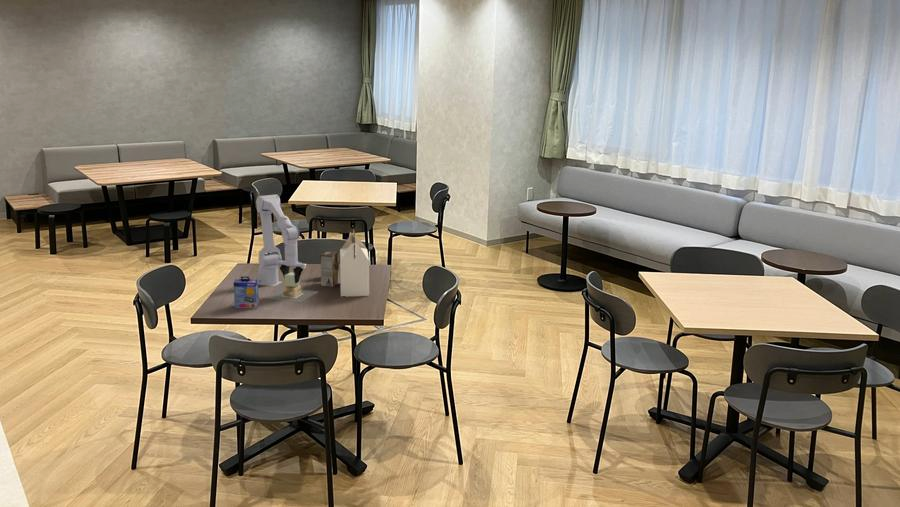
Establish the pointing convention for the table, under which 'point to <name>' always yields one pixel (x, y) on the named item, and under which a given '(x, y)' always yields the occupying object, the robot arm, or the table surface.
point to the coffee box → (329, 268)
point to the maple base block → (292, 291)
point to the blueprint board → (300, 298)
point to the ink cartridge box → (246, 293)
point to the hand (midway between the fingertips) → (292, 281)
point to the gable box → (354, 267)
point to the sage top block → (290, 280)
